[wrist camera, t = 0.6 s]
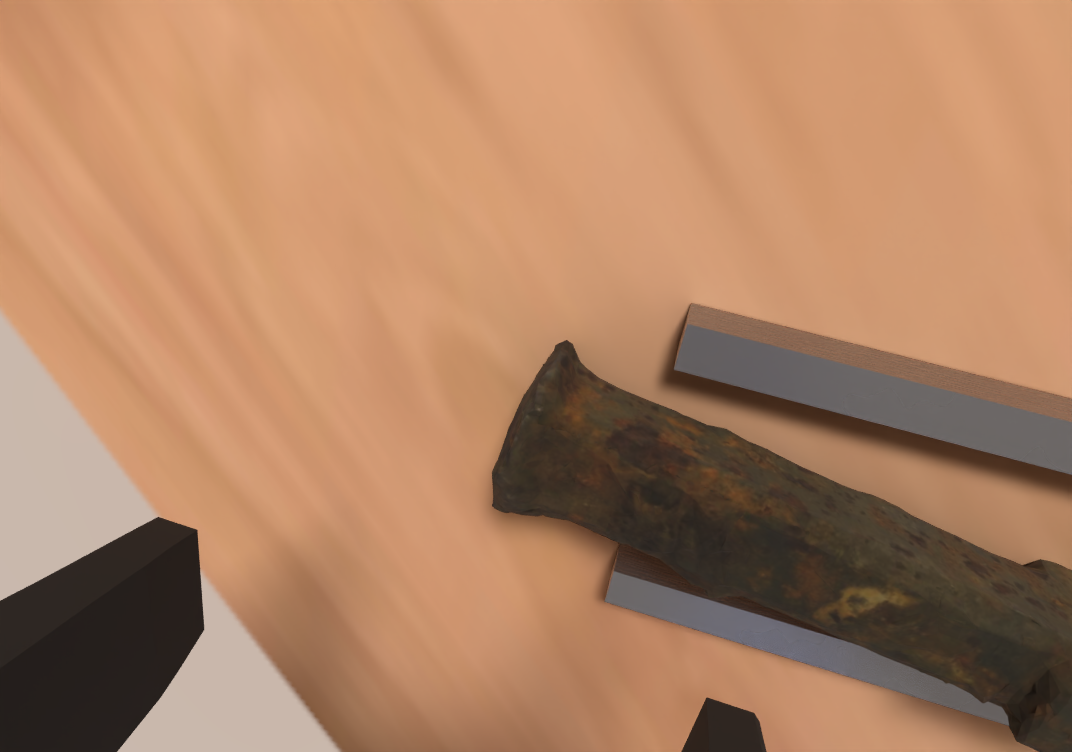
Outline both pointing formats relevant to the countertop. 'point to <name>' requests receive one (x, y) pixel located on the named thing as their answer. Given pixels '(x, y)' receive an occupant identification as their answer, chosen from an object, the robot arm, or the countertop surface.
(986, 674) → the dark brown log
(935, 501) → the countertop surface
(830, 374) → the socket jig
